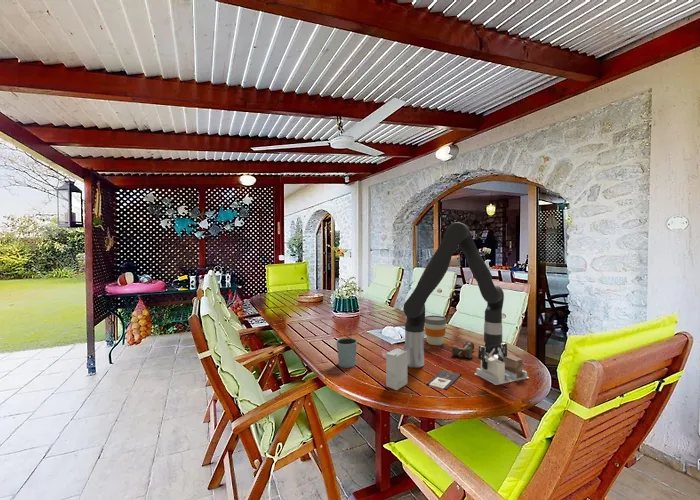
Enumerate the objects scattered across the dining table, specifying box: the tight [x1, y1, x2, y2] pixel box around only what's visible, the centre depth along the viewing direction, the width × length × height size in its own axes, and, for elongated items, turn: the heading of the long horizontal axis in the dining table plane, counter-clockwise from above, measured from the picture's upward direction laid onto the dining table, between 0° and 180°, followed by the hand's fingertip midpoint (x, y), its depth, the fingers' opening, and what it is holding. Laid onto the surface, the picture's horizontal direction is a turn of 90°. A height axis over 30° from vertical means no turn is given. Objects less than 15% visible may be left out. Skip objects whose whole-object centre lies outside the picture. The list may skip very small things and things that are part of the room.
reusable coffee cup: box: [424, 315, 447, 346], centre depth 207 cm, size 12×13×15 cm
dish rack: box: [474, 367, 530, 386], centre depth 156 cm, size 19×13×4 cm
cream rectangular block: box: [480, 356, 505, 382], centre depth 154 cm, size 4×10×8 cm, turn 21°
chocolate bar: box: [426, 369, 462, 391], centre depth 154 cm, size 9×1×18 cm
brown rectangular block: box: [503, 353, 523, 379], centre depth 158 cm, size 4×10×8 cm, turn 22°
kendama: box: [451, 340, 475, 360], centre depth 186 cm, size 6×10×20 cm
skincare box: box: [385, 347, 408, 391], centre depth 149 cm, size 8×6×15 cm
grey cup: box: [336, 337, 358, 369], centre depth 173 cm, size 10×10×12 cm
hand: (492, 367), depth 154 cm, fingers open, 8 cm apart
